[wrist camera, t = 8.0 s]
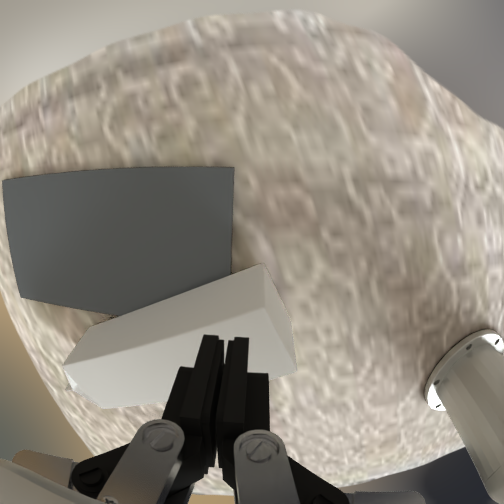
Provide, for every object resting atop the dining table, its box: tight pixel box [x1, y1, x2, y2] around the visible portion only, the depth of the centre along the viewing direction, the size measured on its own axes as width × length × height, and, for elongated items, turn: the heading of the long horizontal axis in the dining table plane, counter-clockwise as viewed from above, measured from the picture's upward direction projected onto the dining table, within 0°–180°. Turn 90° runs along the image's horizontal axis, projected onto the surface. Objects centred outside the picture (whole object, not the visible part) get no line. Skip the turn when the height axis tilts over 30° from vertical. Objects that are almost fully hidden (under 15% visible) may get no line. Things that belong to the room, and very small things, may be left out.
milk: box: [62, 263, 297, 409], centre depth 22 cm, size 6×6×22 cm
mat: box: [2, 167, 234, 316], centre depth 23 cm, size 24×13×1 cm, turn 87°
